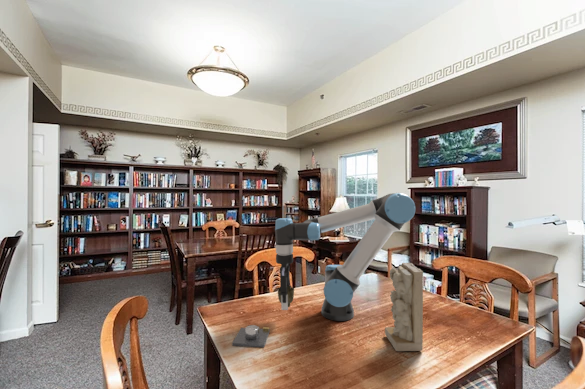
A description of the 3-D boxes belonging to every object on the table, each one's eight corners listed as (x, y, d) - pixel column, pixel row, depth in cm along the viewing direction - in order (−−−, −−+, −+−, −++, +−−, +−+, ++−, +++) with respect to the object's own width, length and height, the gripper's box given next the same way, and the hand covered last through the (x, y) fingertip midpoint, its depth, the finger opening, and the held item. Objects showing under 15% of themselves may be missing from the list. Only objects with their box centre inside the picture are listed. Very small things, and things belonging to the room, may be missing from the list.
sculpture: (384, 335, 112) (384, 260, 112) (410, 335, 112) (410, 261, 112) (395, 353, 99) (395, 269, 99) (423, 353, 99) (424, 269, 99)
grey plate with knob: (269, 331, 114) (269, 321, 114) (263, 347, 102) (264, 336, 102) (241, 330, 115) (241, 320, 115) (232, 345, 103) (232, 334, 103)
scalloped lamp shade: (292, 310, 117) (292, 291, 117) (275, 309, 119) (275, 290, 119) (296, 304, 124) (295, 286, 124) (280, 303, 126) (279, 285, 126)
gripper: (279, 249, 132) (280, 297, 132) (272, 258, 112) (273, 315, 112) (294, 249, 131) (296, 297, 131) (290, 258, 112) (292, 316, 111)
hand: (285, 306), depth 122 cm, fingers closed on scalloped lamp shade, 7 cm apart
